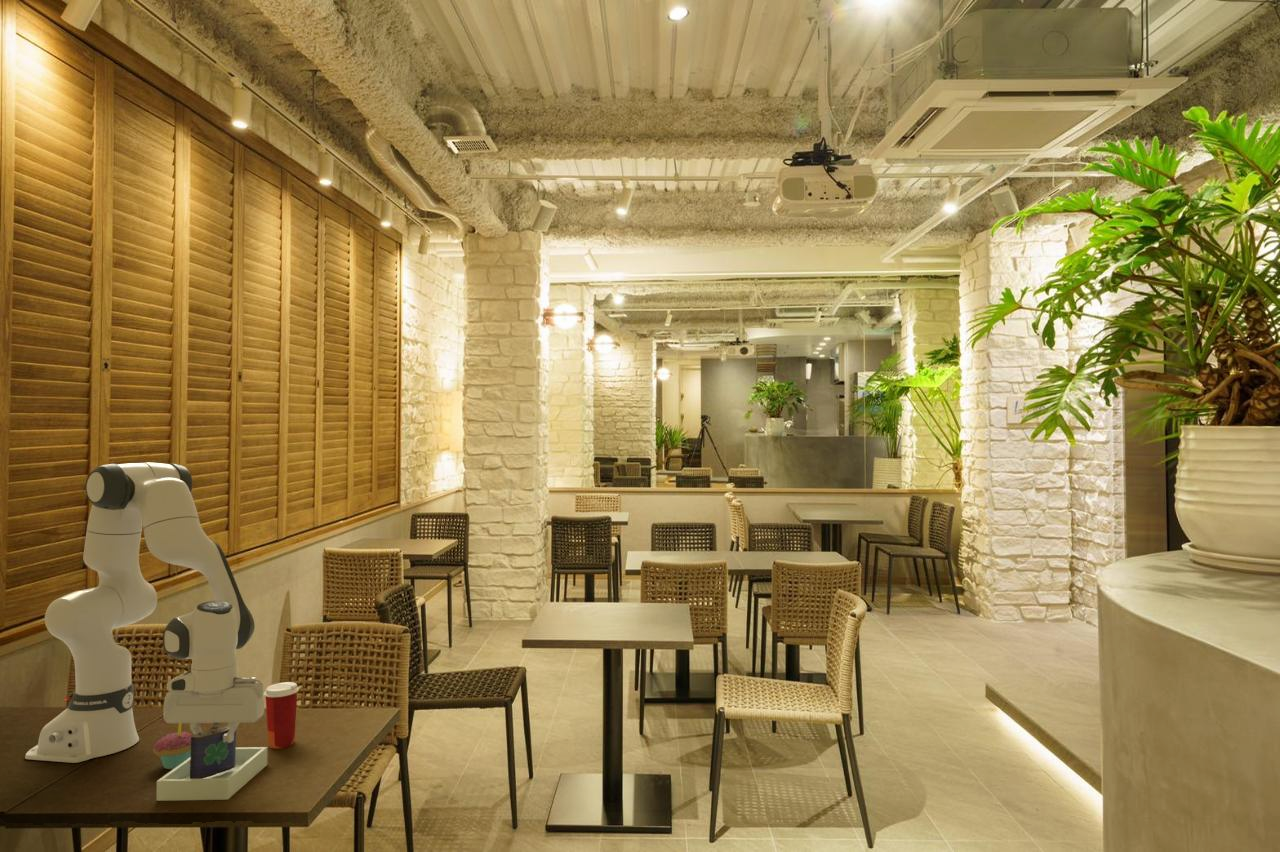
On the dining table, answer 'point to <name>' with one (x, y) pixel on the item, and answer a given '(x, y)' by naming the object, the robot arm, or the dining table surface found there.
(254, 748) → the serving bin
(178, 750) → the cupcake
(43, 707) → the dining table surface
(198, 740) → the flask
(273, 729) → the paper cup
